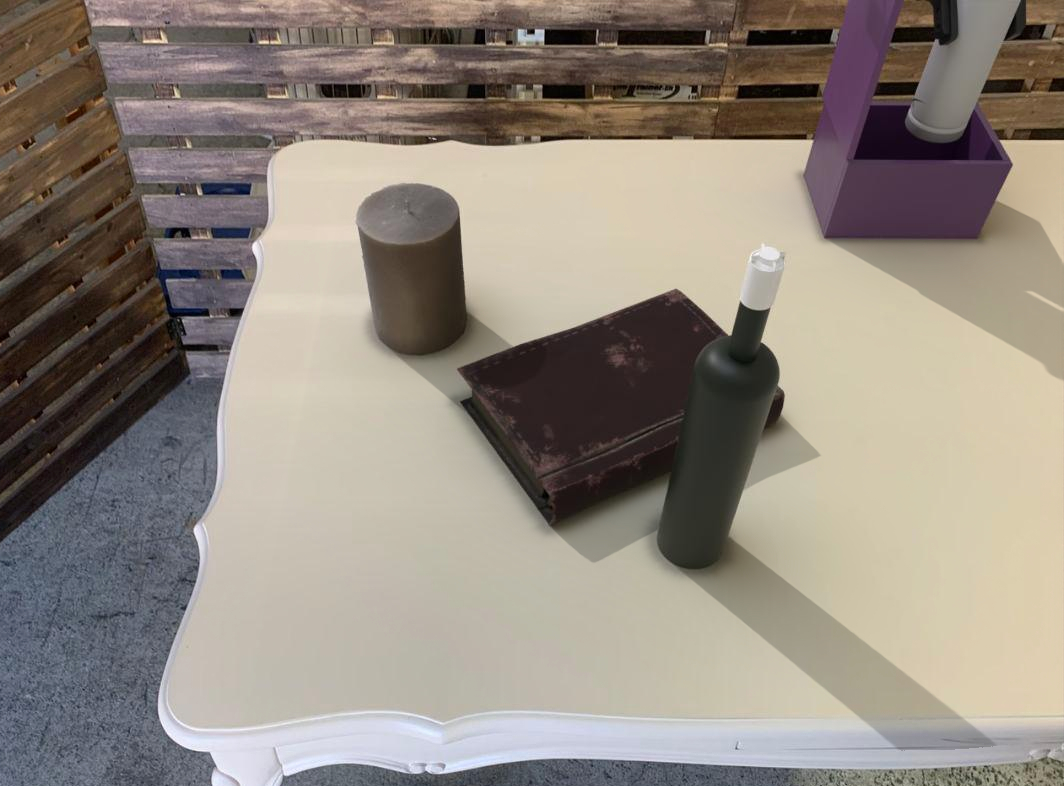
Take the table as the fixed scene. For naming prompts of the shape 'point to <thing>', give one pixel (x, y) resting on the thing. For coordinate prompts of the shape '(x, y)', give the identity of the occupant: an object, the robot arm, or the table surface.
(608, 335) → the diary
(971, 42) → the travel mug
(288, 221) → the table surface
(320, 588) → the table surface
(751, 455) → the wine bottle
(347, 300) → the table surface
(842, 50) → the lid
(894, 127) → the box
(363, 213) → the pillar candle
